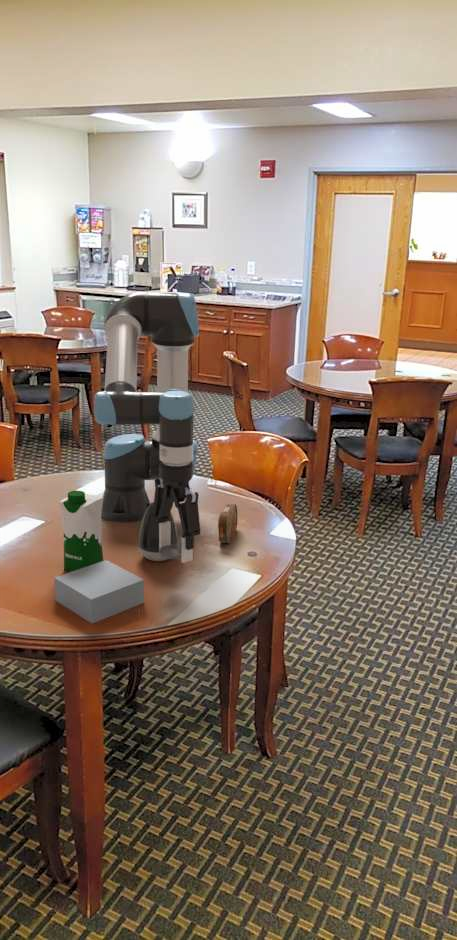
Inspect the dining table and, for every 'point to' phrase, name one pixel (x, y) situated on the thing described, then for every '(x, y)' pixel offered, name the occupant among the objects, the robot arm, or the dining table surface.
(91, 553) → the milk carton
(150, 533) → the black glossy egg shape
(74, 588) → the base block
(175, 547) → the pocket watch
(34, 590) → the dining table surface
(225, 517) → the tin
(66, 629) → the dining table surface
